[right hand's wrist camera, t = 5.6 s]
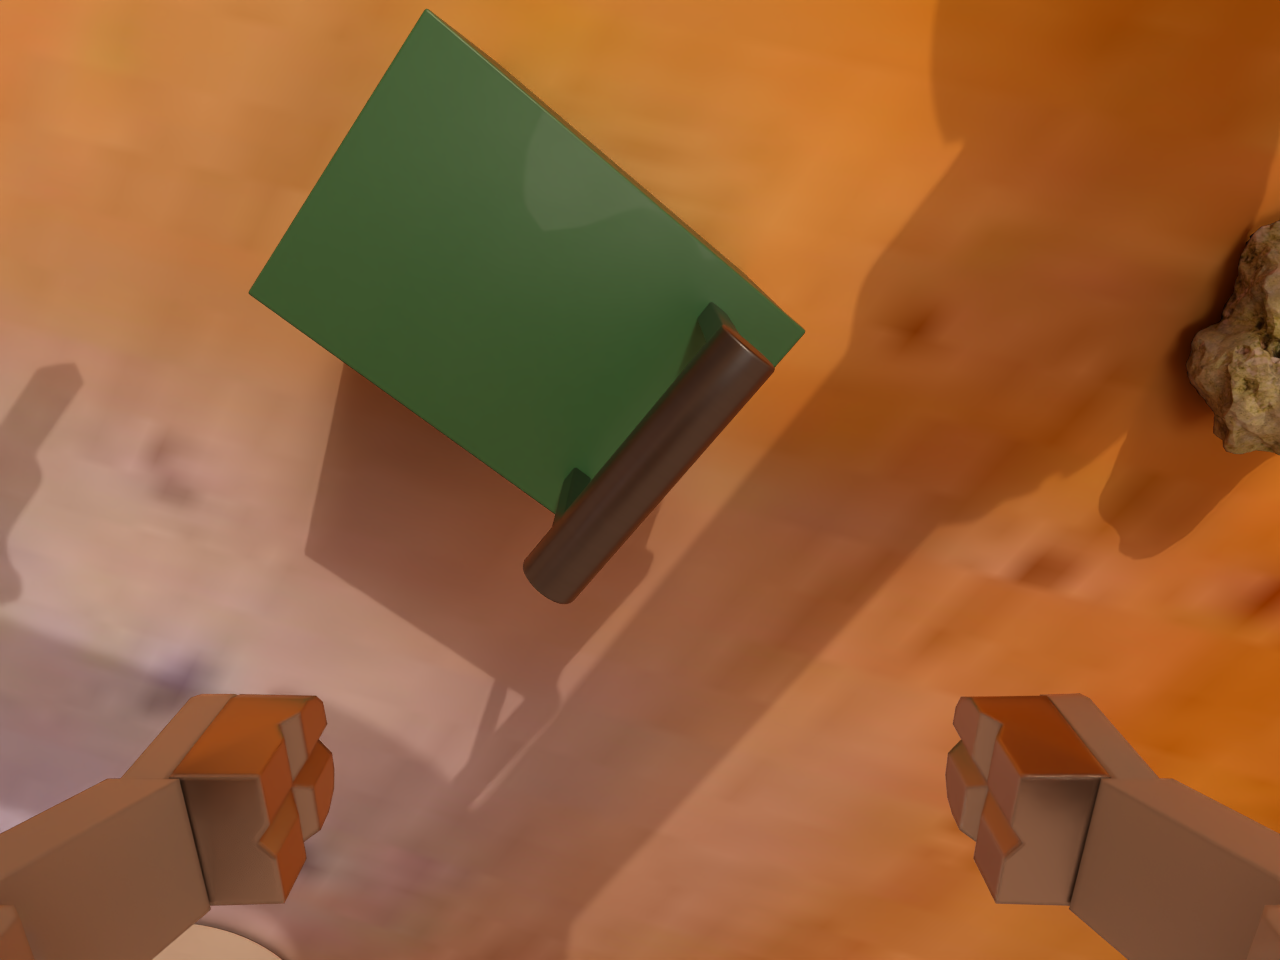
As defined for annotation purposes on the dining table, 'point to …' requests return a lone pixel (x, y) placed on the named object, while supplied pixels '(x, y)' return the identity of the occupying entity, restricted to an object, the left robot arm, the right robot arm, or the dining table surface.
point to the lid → (522, 299)
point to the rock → (1245, 352)
